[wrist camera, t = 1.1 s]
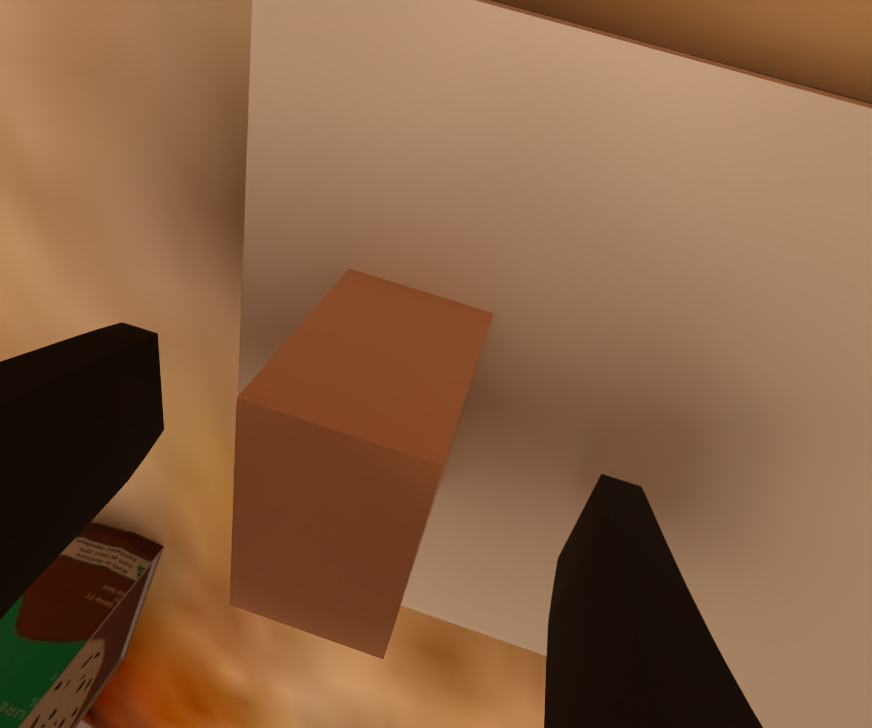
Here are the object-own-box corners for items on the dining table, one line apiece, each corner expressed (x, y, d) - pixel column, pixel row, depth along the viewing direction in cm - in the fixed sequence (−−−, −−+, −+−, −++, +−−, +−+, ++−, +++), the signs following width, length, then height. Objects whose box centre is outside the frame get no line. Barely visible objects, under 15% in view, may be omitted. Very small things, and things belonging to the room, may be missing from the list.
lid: (1505, 272, 8) (2564, 625, 3) (891, 720, 14) (1005, 1018, 10) (300, -56, 9) (30, -81, 5) (260, 504, 16) (136, 694, 11)
